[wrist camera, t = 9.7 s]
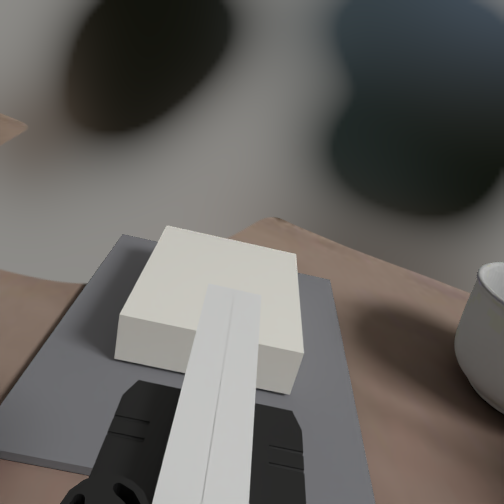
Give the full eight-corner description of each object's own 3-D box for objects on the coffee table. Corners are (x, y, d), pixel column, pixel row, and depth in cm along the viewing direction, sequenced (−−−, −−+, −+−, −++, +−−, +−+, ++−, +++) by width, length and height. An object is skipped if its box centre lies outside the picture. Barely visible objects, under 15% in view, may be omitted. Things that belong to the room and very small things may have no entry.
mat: (375, 530, 21) (379, 523, 21) (-28, 452, 20) (-29, 445, 20) (328, 284, 41) (329, 279, 41) (122, 239, 40) (122, 234, 40)
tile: (303, 353, 26) (295, 254, 36) (119, 314, 25) (166, 225, 36) (288, 398, 27) (285, 289, 38) (113, 362, 26) (160, 262, 37)
